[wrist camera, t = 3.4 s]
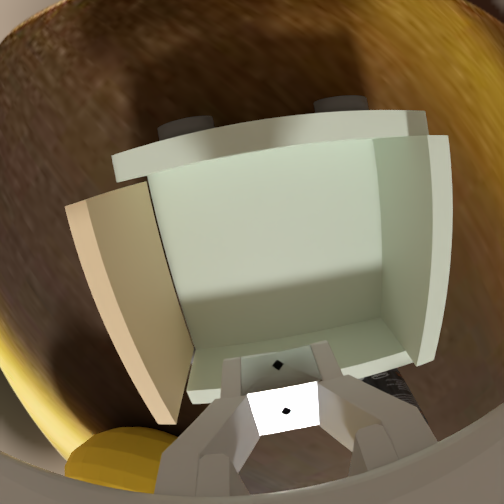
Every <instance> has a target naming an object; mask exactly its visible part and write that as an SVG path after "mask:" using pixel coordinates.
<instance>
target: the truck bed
mask: <svg viewBox="0 0 504 504" xmlns="http://www.w3.org/2000/svg"><path fill="white" fill-rule="evenodd" d="M313 104H314V109H315V113H312V114H302V115H293V116H284V117H277V118H269V119H262V120H256V121H250V122H244V123H238V124H232V125H227V126H222V127H217V128H215V127H214V121H213V117H212V116H194V117H188V118H183V119H179V120H175V121H172V122H169V123H166V124H164V125H161V126H160V127H158V128H157V130H158V136H159V141H158V142H155V143H151V144H148V145H144V146H141V147H137V148H134V149H131V150H128V151H125V152H122V153H118V154H115V155H112V161H113V166H114V171H115V176H116V181H117V182H121V181H125V180H130V179H134V178H138V177H143V176H147V178H148V182H149V187H150V192H151V196H152V200H153V205H154V209H155V213H156V217H157V222H158V226H159V230H160V234H161V237H162V241H163V245H164V249H165V253H166V256H167V260H168V263H169V267H170V271H171V274H172V277H173V281H174V284H175V288H176V291H177V294H178V297H179V301H180V304H181V307H182V310H183V313H184V316H185V319H186V323H187V326H188V329H189V331H190V334H191V337H192V340H193V343H194V346H195V347H193V348H194V351H193V355H192V359H191V364H192V368H191V372H190V377H189V381H188V386H187V390H186V391H187V393H188V396H189V398H190V400H191V402H192V404H203V403H212V402H213V401H214V399H219V398H220V394H221V379H222V365H223V361H224V359H228V358H235V357H242V356H249V355H256V354H263V353H269V352H277V351H282V350H287V349H292V348H297V347H301V346H306V345H309V344H312V343H316V342H320V341H324V340H326V341H328V343H329V345H330V347H331V349H332V351H333V354H334V356H335V358H336V360H337V362H338V365H339V367H340V369H341V371H342V374H343V376H344V375H348V374H349V375H351V376H353V377H355V378H357V379H360V378H363V377H367V376H371V375H374V374H378V373H381V372H384V371H388V370H391V369H394V368H397V367H400V366H403V365H406V364H409V363H412V362H414V364H415V365H416V366H419V365H422V364H425V363H427V362H430V361H432V360H434V356H435V352H436V348H437V344H438V339H439V335H440V330H441V325H442V320H443V314H444V308H445V302H446V295H447V288H448V279H449V270H450V259H451V245H452V216H453V203H452V174H451V160H450V150H449V141H448V136H445V135H429V133H428V126H427V120H426V114H425V111H414V110H369V108H368V103H367V98H366V97H365V96H358V95H346V96H335V97H329V98H324V99H320V100H317V101H315V102H314V103H313Z"/></svg>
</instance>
